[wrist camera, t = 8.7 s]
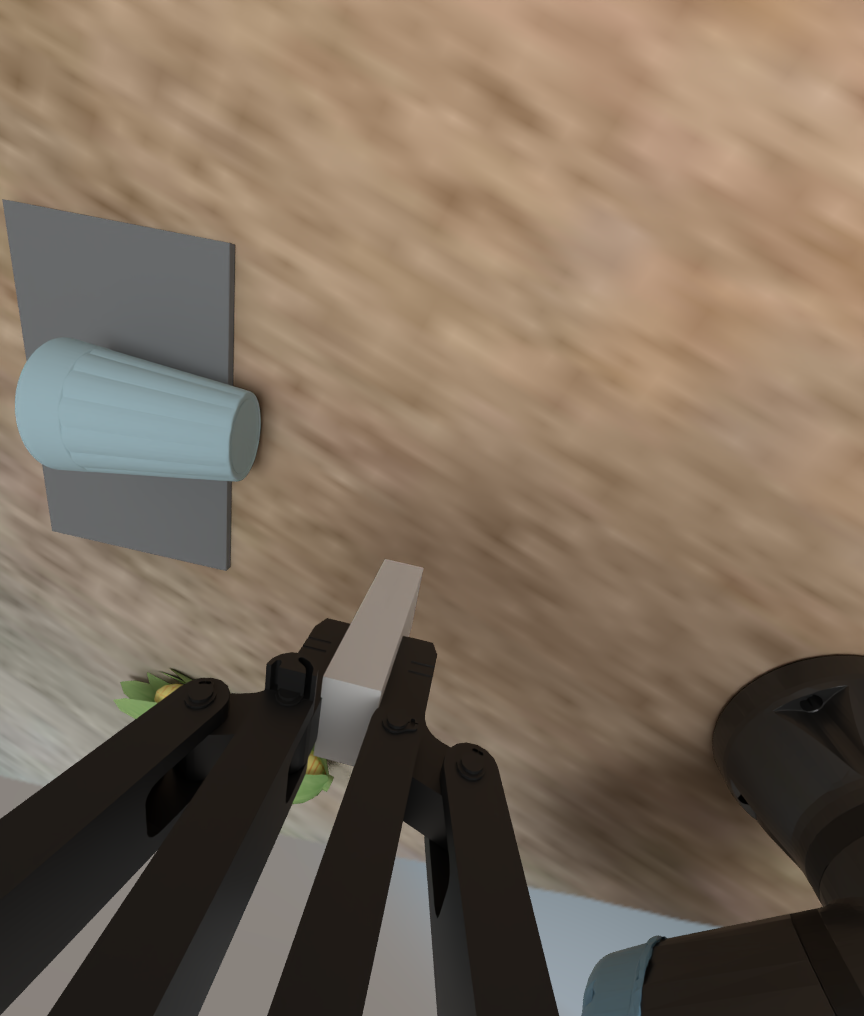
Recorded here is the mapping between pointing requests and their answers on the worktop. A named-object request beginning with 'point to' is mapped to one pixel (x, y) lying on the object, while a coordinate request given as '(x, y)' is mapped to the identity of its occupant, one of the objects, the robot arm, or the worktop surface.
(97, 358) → the cup
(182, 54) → the worktop surface
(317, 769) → the edible corn
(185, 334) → the mat
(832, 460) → the worktop surface
